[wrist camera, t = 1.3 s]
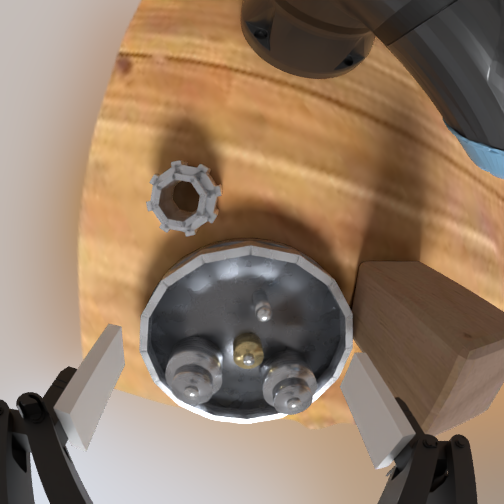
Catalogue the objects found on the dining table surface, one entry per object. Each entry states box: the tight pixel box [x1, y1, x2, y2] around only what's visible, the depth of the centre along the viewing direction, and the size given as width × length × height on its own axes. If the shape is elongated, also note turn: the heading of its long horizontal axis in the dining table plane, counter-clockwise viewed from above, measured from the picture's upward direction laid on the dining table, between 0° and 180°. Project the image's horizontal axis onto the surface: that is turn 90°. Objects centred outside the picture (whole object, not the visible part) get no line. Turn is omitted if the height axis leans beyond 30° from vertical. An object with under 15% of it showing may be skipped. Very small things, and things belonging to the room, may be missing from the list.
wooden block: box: [352, 261, 504, 436], centre depth 24 cm, size 10×10×20 cm
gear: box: [146, 160, 223, 236], centre depth 26 cm, size 7×7×6 cm
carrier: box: [140, 238, 353, 423], centre depth 30 cm, size 25×25×8 cm
